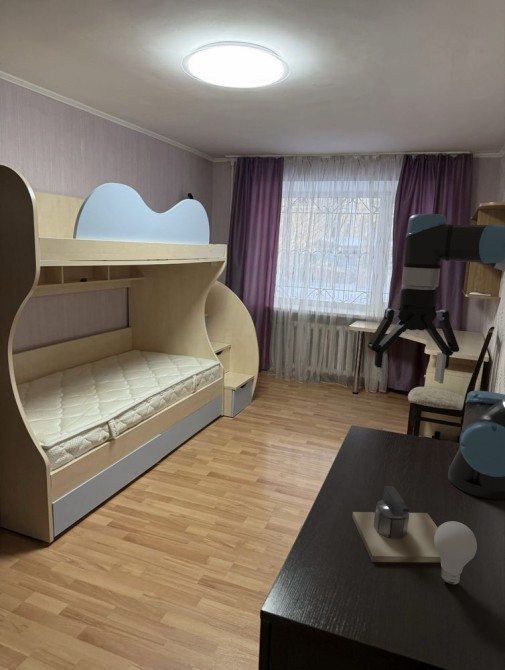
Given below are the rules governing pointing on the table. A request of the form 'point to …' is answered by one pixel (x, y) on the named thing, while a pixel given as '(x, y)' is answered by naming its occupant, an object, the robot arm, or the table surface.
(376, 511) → the dark grey rounded piece
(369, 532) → the socket base
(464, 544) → the light bulb
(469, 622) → the table surface
